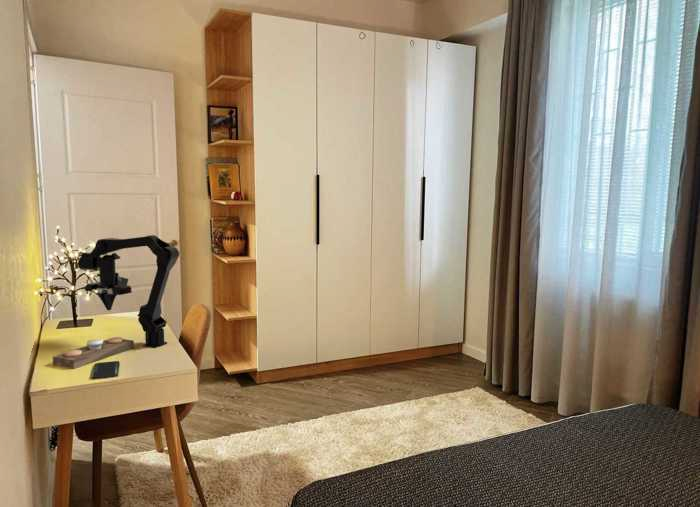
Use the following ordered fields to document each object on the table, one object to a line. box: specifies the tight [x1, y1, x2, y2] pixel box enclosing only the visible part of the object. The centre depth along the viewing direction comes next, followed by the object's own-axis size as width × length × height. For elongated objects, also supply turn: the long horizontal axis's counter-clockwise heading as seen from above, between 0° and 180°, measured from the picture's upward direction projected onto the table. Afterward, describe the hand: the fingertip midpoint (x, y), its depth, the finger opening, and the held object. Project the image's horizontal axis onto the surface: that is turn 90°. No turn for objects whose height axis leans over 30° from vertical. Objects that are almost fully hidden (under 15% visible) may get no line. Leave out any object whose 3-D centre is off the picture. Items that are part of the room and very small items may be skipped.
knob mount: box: [52, 338, 135, 370], centre depth 189 cm, size 10×26×3 cm, turn 157°
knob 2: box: [106, 336, 124, 344], centre depth 197 cm, size 5×5×4 cm
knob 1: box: [64, 349, 82, 358], centre depth 181 cm, size 5×5×4 cm
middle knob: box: [86, 338, 104, 351], centre depth 189 cm, size 5×5×4 cm
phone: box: [91, 360, 120, 380], centre depth 174 cm, size 8×1×15 cm
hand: (109, 310), depth 205 cm, fingers closed
